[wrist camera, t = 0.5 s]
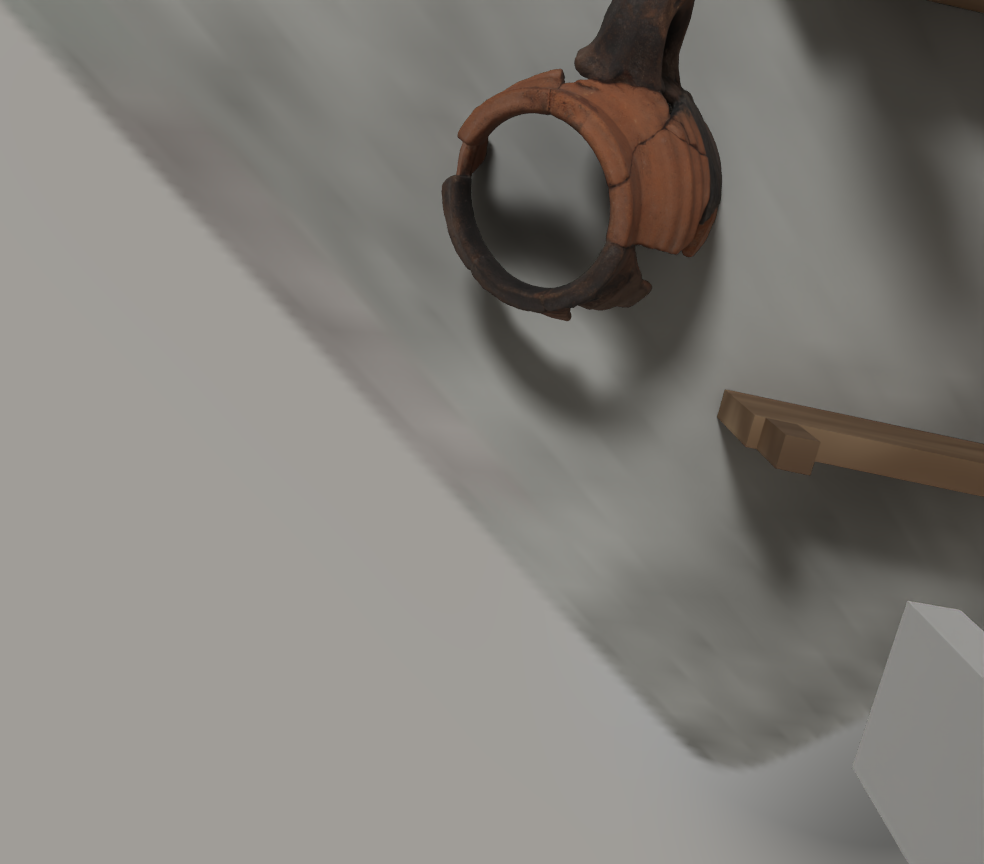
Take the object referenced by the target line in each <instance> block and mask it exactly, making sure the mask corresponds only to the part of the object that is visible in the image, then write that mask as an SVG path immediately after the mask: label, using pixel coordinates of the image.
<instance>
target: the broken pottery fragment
mask: <svg viewBox="0 0 984 864" xmlns="http://www.w3.org/2000/svg"><path fill="white" fill-rule="evenodd" d="M694 1H695V0H612V2H611V4H610V6H609V7H608V9H607V12H606V14H605V16H604V20H603V22H602V25H601V28H600V30H599V32H598V34H597V36H596V38H595V39H594V40H593V41H592V42H591V43H590V44H589V45H588V46H586V47H584V48H582V49H580V50H579V51H578V53H577V56H576V58H575V63H574V64H575V68H576V70H577V71H578V72H579V73H580V75H581V76H583V77H585V78H588V80H577V81H576V82H574V83H565V81H564V79H565V75H564V73H563V70H562V69H554V70H550V71H547V72H544V73H540V74H538V75H534V76H533V77H530V78H528V79H525V80H522V81H519V82H517V83H516V84H514V85H512V86H511V87H509V88H507V89H506V90H504V91H503V92H501V93H498V94H496V95H495V96H493V97H491V98H490V99H488V100H486V101H485V102H484V103H483V104H481V105H480V106H478V107H477V108H475V109H474V110H473V112H472V113H471V115H470V116H469V117H468V118H467V120H466V121H465V122H464V124H463V125H462V127H461V128H460V130H459V132H458V138H459V139H460V140H462V141H463V144H462V146H461V149H460V154H459V159H458V167H457V173H456V175H453V176H451V177H449V178H448V179H446V180H445V182H444V183H443V185H442V200H443V202H442V204H443V210H444V215H445V218H446V223H447V228H448V232H449V235H450V238H451V241H452V244H453V245H454V248H455V251H456V252H457V254H458V255H459V257H460V259H461V260H462V262H463V263H464V265H465V266H466V268H467V269H469V270H471V272H472V275H473V277H474V278H475V279H476V280H477V281H478V282H479V283H480V285H481V286H482V287H483V289H485V290H487V291H489V292H490V293H491V294H492V295H494V296H495V297H496V298H498V299H499V300H500V301H502V302H504V303H506V304H508V305H510V306H513V307H516V308H517V309H521V310H525V311H532V312H536V313H541V314H544V315H546V316H548V317H551V318H555V319H560V320H565V321H569V320H570V319H571V313H570V308H574V307H575V306H577V305H578V306H581V307H583V308H586V309H589V310H590V309H594V310H607V309H610V308H613V307H616V306H618V307H631V306H633V305H634V304H636V303H637V302H639V301H640V300H641V299H643V298H644V297H645V296H646V295H648V294H649V293H650V291H651V289H652V285H651V284H650V283H649V282H648V281H646V280H643V279H642V275H641V271H640V269H639V267H638V263H637V257H636V251H635V246H636V245H642V246H644V247H647V248H651V249H657V250H660V251H663V252H668V253H670V254H675V255H676V254H678V253H679V252H680V251H681V250H682V253H683V255H685V256H686V257H692V256H693V255H695V253H696V252H697V251H698V250H699V249H700V247H701V246H702V245H703V244H704V242H705V240H706V239H707V237H708V234H709V232H710V229H711V227H712V225H713V223H714V221H715V218H716V215H717V209H718V205H719V204H720V200H721V187H722V172H721V162H720V157H719V153H718V149H717V146H716V143H715V141H714V138H713V136H712V134H711V132H710V130H709V128H708V126H707V124H706V123H705V122H704V120H703V118H702V115H701V113H700V111H699V109H698V108H697V106H696V105H695V103H694V101H693V98H692V96H691V94H690V93H689V92H688V91H685V90H684V89H683V88H682V87H681V83H680V76H679V52H680V49H681V46H682V43H683V40H684V36H685V34H686V31H687V28H688V25H689V22H690V19H691V15H692V10H693V6H694ZM668 103H669V104H670V105H671V106H672V108H673V110H672V113H671V114H669V106H668ZM527 113H538V114H545V115H553V116H555V117H556V118H558V119H561V120H563V121H564V122H566V123H567V124H569V125H570V126H571V127H573V128H574V129H575V130H576V131H577V132H578V133H579V134H580V135H582V137H583V138H584V139H585V140H586V141H587V143H588V144H589V145H590V147H591V148H592V150H593V151H594V153H595V155H596V156H597V158H598V160H599V162H600V164H601V166H602V169H603V171H604V174H605V178H606V181H607V185H608V187H609V199H610V219H609V225H608V231H607V235H606V244H605V245H604V247H603V249H602V251H601V253H600V254H599V256H598V258H597V259H596V261H595V262H594V264H593V265H592V266H591V267H590V268H589V270H588V271H587V272H586V273H584V274H583V275H582V276H580V277H579V278H578V279H576V280H575V281H573V282H571V283H569V284H566V285H563V286H560V287H556V288H543V287H537V286H533V285H530V284H527V283H524V282H522V281H520V280H518V279H517V278H515V277H513V276H512V275H511V274H509V273H508V272H507V271H506V270H505V269H504V268H503V267H502V266H501V265H500V264H499V263H498V262H497V261H496V260H495V258H494V257H493V256H492V254H491V253H490V251H489V250H488V248H487V246H486V244H485V243H484V241H483V239H482V237H481V235H480V232H479V229H478V227H477V224H476V221H475V218H474V212H473V207H472V199H471V182H472V179H471V177H472V173H473V172H474V171H475V170H476V169H477V168H478V167H479V165H481V163H482V162H483V161H484V159H485V156H486V152H487V144H488V136H489V135H490V134H491V133H492V131H493V130H494V129H495V128H496V127H498V126H499V125H500V124H501V123H503V122H504V121H506V120H508V119H510V118H512V117H514V116H518V115H521V114H527Z"/></svg>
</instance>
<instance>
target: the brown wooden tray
mask: <svg viewBox="0 0 984 864" xmlns="http://www.w3.org/2000/svg"><path fill="white" fill-rule="evenodd" d="M928 1H932V2H937V3H941V4H946V5H950V6H955V7H959V8H963V9H968V10H972V11H977V12H981V13H984V0H928ZM717 418H718V419H719V420H720V421H721V422H722V423H723V424H724V425H725V426H726V427H727V428H728V429H729V430H730V431H731V432H732V433H733V434H734V435H735V436H736V437H737V438H738V439H739V440H740V441H741V442H742V444H743V445H744V446H745V447H749V448H754V449H757V450H758V451H759V452H760V453H761V454H762V455H763V456H764V457H765V458H766V459H767V460H768V461H769V462H770V463H771V464H772V465H773V466H774V467H775V468H776V469H781V470H786V471H791V472H795V473H800V474H805V475H810V474H811V471H812V468H813V465H814V462H815V461H816V462H820V463H825V464H830V465H835V466H839V467H844V468H849V469H854V470H858V471H863V472H868V473H873V474H877V475H882V476H887V477H892V478H897V479H901V480H906V481H911V482H916V483H920V484H925V485H930V486H935V487H939V488H944V489H949V490H954V491H959V492H963V493H968V494H973V495H978V496H982V497H984V444H981V443H976V442H971V441H967V440H962V439H957V438H952V437H948V436H943V435H938V434H934V433H929V432H924V431H919V430H915V429H910V428H905V427H900V426H896V425H891V424H886V423H882V422H877V421H872V420H867V419H863V418H858V417H853V416H849V415H844V414H839V413H834V412H830V411H825V410H820V409H815V408H811V407H806V406H801V405H797V404H792V403H787V402H782V401H778V400H773V399H768V398H763V397H759V396H754V395H749V394H745V393H740V392H735V391H730V390H726V389H725V391H724V394H723V398H722V401H721V405H720V409H719V412H718V416H717Z"/></svg>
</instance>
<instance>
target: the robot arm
mask: <svg viewBox="0 0 984 864" xmlns="http://www.w3.org/2000/svg"><path fill="white" fill-rule="evenodd" d="M852 768H853V770H854V772H855V773H856V775H857V777H858V779H859V780H860V782H861V783H862V785H863V787H864V789H865V790H866V792H867V794H868V796H869V797H870V799H871V801H872V802H873V804H874V806H875V807H876V809H877V811H878V812H879V814H880V816H881V818H882V819H883V821H884V823H885V824H886V826H887V828H888V829H889V831H890V833H891V835H892V836H893V838H894V839H895V841H896V843H897V845H898V846H899V848H900V850H901V852H902V853H903V855H904V857H905V858H906V860H907V862H908V863H909V864H984V631H983V630H982V629H981V628H979V627H978V626H977V625H976V624H975V623H974V622H973V621H972V620H971V619H970V618H969V617H968V616H967V615H965V614H964V613H963V612H962V611H961V610H958V609H952V608H947V607H941V606H935V605H930V604H924V603H918V602H913V601H907V603H906V606H905V609H904V612H903V615H902V618H901V621H900V624H899V627H898V630H897V633H896V636H895V639H894V642H893V645H892V648H891V651H890V654H889V657H888V660H887V663H886V666H885V669H884V672H883V675H882V678H881V681H880V684H879V687H878V690H877V693H876V696H875V699H874V702H873V705H872V708H871V711H870V714H869V717H868V720H867V723H866V726H865V729H864V732H863V735H862V738H861V741H860V744H859V747H858V751H857V753H856V756H855V759H854V762H853V765H852Z"/></svg>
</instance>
